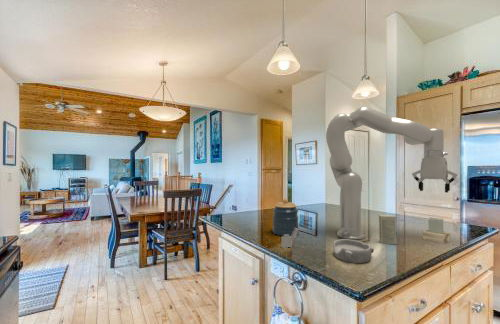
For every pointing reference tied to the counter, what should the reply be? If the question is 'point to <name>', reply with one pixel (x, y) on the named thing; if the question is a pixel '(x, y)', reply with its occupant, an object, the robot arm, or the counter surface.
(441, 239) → the beech block
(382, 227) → the skincare box
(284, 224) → the canister
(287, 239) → the lighter
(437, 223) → the grey-green block
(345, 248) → the dish
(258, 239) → the counter surface
